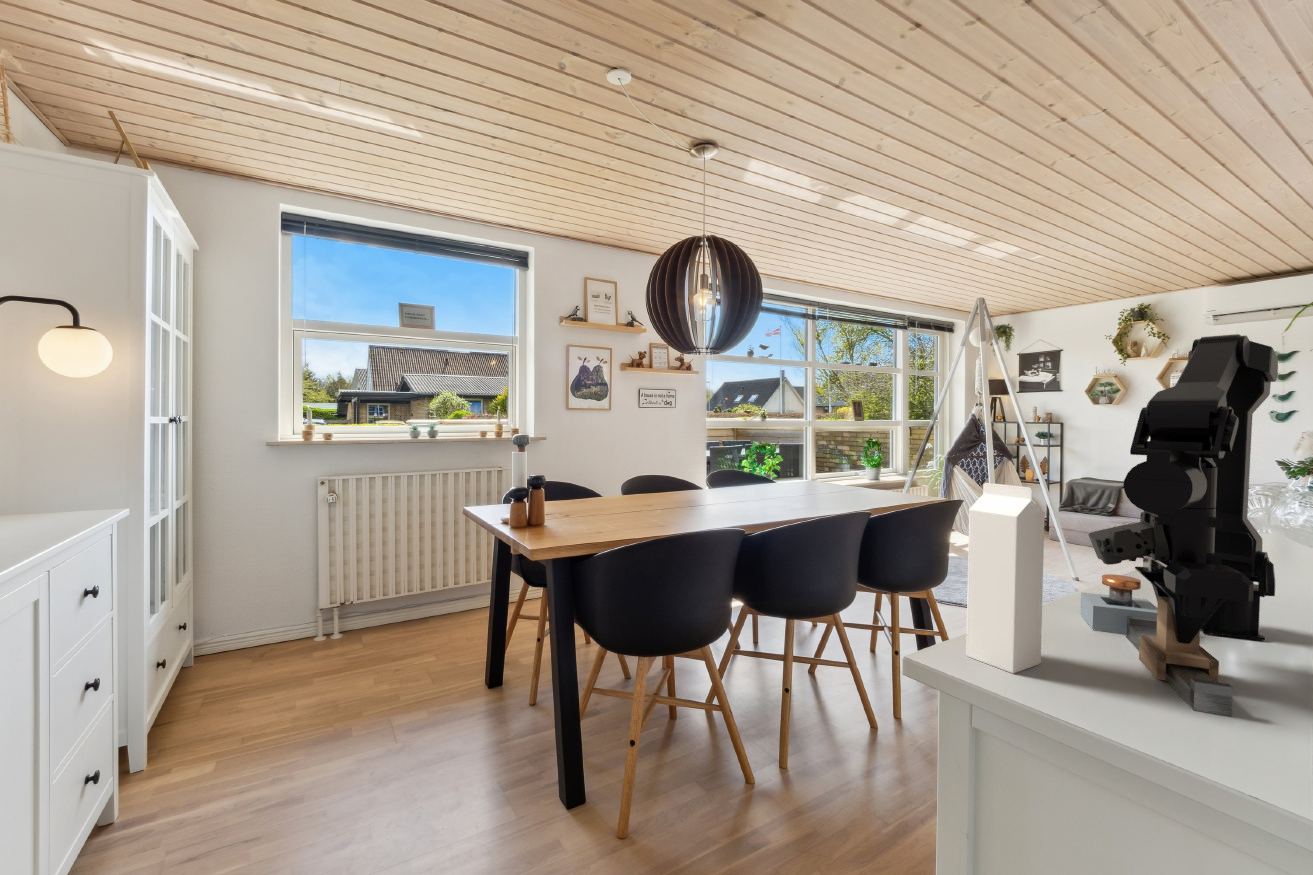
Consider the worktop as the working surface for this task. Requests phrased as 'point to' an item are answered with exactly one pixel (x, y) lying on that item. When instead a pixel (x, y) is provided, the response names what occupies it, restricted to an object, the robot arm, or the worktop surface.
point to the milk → (1005, 578)
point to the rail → (1186, 675)
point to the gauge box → (1113, 612)
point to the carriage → (1173, 647)
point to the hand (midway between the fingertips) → (1177, 637)
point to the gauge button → (1120, 589)
